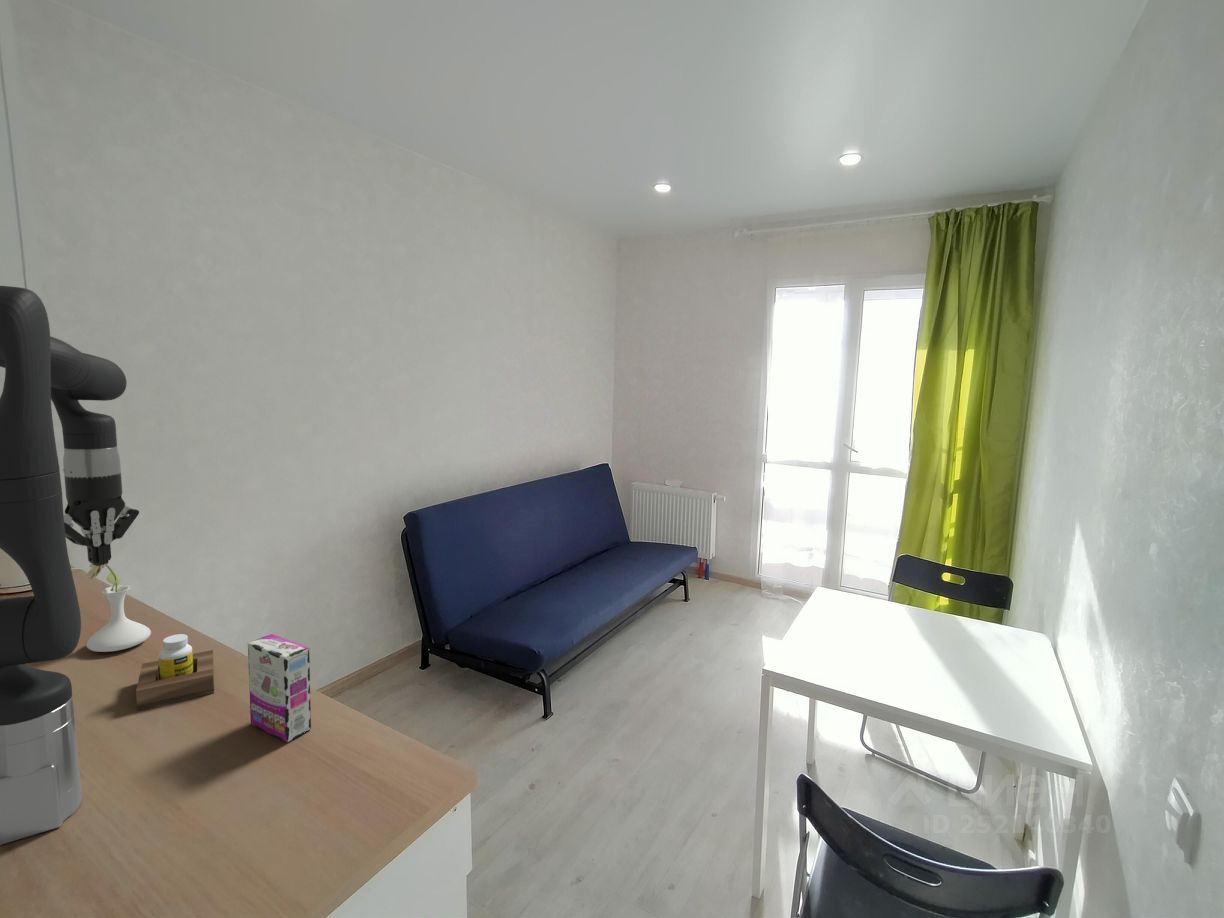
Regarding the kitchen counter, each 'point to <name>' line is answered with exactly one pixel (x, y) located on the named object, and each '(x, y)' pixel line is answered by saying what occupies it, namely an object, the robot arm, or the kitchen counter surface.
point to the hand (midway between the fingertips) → (100, 564)
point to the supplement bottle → (175, 657)
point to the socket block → (175, 682)
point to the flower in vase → (116, 619)
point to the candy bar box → (279, 687)
